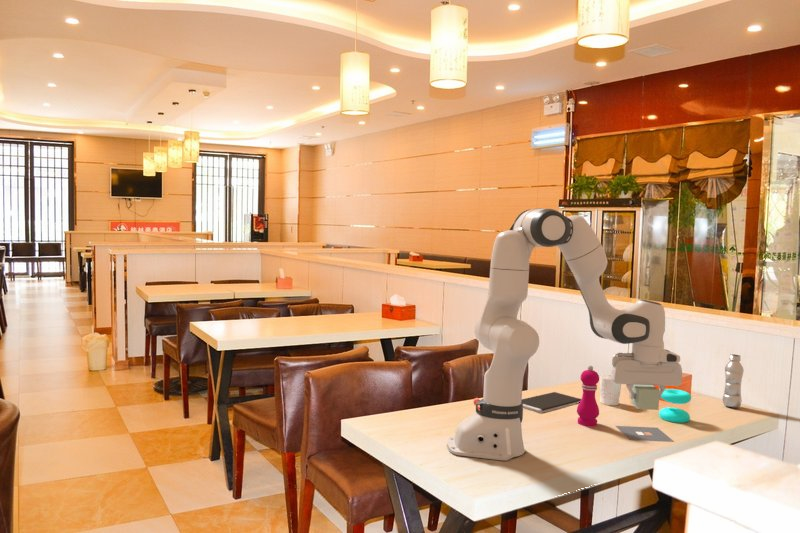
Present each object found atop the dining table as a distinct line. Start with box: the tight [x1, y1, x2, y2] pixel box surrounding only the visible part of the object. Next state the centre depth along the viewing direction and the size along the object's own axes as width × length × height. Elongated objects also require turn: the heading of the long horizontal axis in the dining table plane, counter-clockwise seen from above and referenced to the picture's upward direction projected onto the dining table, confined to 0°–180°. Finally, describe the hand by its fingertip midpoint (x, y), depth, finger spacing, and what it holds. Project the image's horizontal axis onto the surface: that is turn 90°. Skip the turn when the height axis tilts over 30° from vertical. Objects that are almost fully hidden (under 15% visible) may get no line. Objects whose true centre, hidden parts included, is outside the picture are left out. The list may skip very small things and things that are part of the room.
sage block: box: [630, 384, 660, 411], centre depth 187 cm, size 6×6×6 cm
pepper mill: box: [576, 365, 600, 428], centre depth 207 cm, size 7×7×20 cm
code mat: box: [615, 425, 675, 443], centre depth 200 cm, size 14×14×1 cm
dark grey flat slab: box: [522, 391, 582, 414], centre depth 233 cm, size 13×27×2 cm, turn 131°
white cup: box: [599, 374, 622, 406], centre depth 235 cm, size 8×8×10 cm
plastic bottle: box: [722, 353, 744, 409], centre depth 236 cm, size 6×7×20 cm
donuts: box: [658, 388, 692, 424], centre depth 217 cm, size 10×10×10 cm
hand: (645, 399), depth 187 cm, fingers closed on sage block, 6 cm apart
